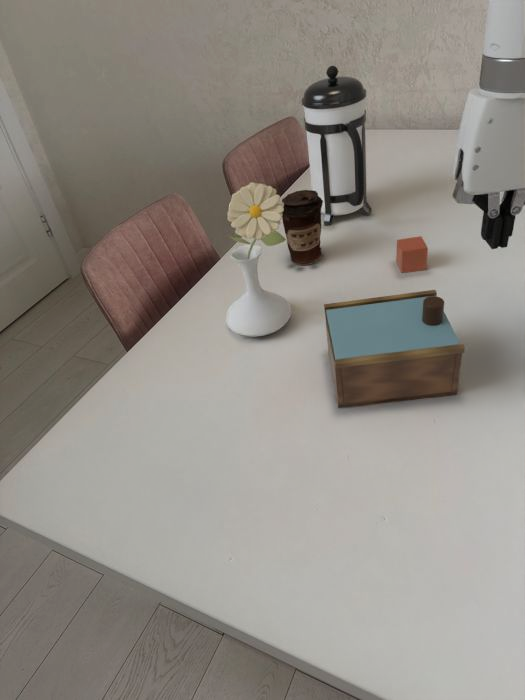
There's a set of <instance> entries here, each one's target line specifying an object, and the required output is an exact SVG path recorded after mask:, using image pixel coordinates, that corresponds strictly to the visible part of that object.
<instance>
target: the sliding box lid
mask: <svg viewBox="0 0 525 700" xmlns="http://www.w3.org/2000/svg"><path fill="white" fill-rule="evenodd" d="M326 313H327V318H328V324H329V329H330V334H331V339H332V344H333V350H334V355H335V360H338V359H346V358H354V357H362V356H370V355H379V354H387V353H395V352H403V351H411V350H419V349H427V348H436V347H444V346H452V345H460V344H461V343H460V340H459V339H458V337H457V335H456V332H455V331H454V328H453V327H452V325H451V322H450V320H449V318H448V317H447V315H446V313H445V300H444V299H443V298H442V297H440V296H429V297H421V298H413V299H406V300H398V301H391V302H383V303H375V304H368V305H360V306H353V307H345V308H337V309H330V310H326Z"/></svg>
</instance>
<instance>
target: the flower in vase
mask: <svg viewBox="0 0 525 700" xmlns="http://www.w3.org/2000/svg"><path fill="white" fill-rule="evenodd" d="M283 207H284V203H283V202H282V200H281V196H280V195H279V194H277V188H273V187H272V186H271V185H266V184H263V183H257V182H254V181H253V182H252V181H251V182H249V184H247V185H245V186H242V187H240V189H239V190H237V191H236V192H233V193H232V194H231V199H230V202H229V204H228V211H227V213H226V215H227V221H228V222H229V223H231V224H230V226H231V228H233V229H234V233H235V234H236V235H238V236H239V237H235V236H231V235H229V234H226V236H227V237H228V238H230V239H231V240H232V241H235V242H237V243H240V244H241V243H242V244H244V245H240V246H237V247H236V248H234V249H233V250H232V251H231V252H230V258H231V259H232V260H234V261H235V262H236V264H237V265H238V266H239V268H240V270H241V272H242V275H243V279H244V282H245V292H244V293H243V294H242V295H240V297H238V298H237V299H235V301H233V303H232V304H231V305H230V306H229V308H228V309H227V311H226V316H225V324H226V325H227V327H228V328H229V329H230V330H231V331H233V332H234V333H236V334H238V335H239V336H244V337H252V338H253V337H262V336H267V335H270V334H273V333H275V332H277V331H279V330H280V329H282V328H283V327H284V326H285V325H287V323H288V321H289V320H290V318H291V315H292V307H291V305H290V304H289V301H288V300H287V299H286V298H285V297H284V296H281V295H279V294H277V293H275V292H272V291H269V290H265V289H263V288H262V286H261V284H260V281H259V280H260V279H259V272H258V265H259V259H260V256H261V255H262V253H263V248H262V247H261V246H260V245H258V244H256V241H261V242H262V243H263V244H264V245H266V246H267V247H272V246H276V245H279V244H281V243H283V242H285V241H287V238H286V237H285V236H283V235H282V234H281V233H279V232H278V231H277V230H278V229H279V228H280V225H281V221H282V216H283V214H282V212H283V211H284V208H283ZM243 237H244V238H246V239H249V240H250V239H253V241H252V242H249V241H247V240H246V239H244V238H243Z"/></svg>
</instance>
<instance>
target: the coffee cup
mask: <svg viewBox="0 0 525 700" xmlns="http://www.w3.org/2000/svg"><path fill="white" fill-rule="evenodd" d="M281 202H283V203H284V207H283V208H284V211H283V212H282V214H283V216H282V219H281V221H282V225H283V229H284V234H285V239H286V245H287V249H288V251H289V254H290V261H291V263H293V264H295V265H297V266H298V265H299V266H306V265H311V264H314V263H316V262H318V261H319V260H321V259H322V257H323V253H322V247H321V233H322V213H321V208H322V203H323V201H322V199H321V198H320V197H319V196H318V193H317V192H316V191H313V190H312V189H302V190H296V191H293V192H291V193H288V194H287V195H285V196H284V197H283V198H282V199H281Z"/></svg>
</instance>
